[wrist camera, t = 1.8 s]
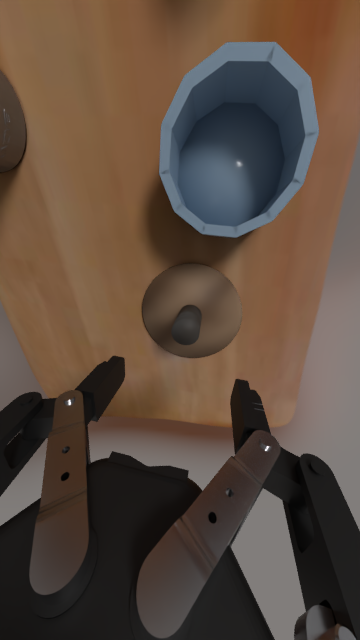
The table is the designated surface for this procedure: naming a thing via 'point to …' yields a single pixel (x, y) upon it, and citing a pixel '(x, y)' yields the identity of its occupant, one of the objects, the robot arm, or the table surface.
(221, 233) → the bowl
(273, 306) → the table surface
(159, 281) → the lid
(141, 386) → the table surface
